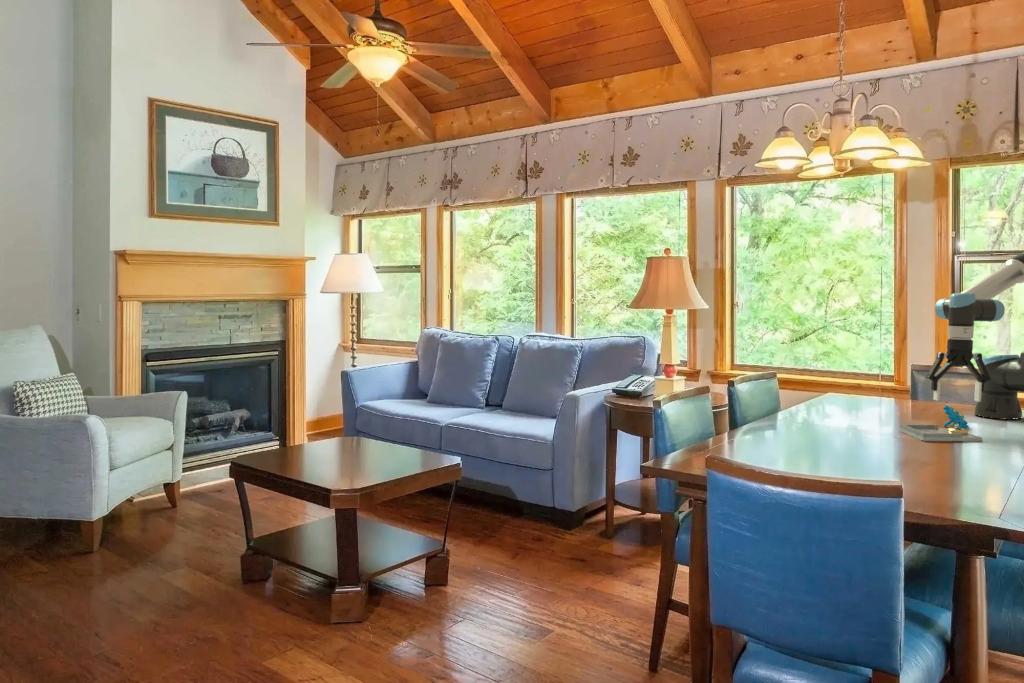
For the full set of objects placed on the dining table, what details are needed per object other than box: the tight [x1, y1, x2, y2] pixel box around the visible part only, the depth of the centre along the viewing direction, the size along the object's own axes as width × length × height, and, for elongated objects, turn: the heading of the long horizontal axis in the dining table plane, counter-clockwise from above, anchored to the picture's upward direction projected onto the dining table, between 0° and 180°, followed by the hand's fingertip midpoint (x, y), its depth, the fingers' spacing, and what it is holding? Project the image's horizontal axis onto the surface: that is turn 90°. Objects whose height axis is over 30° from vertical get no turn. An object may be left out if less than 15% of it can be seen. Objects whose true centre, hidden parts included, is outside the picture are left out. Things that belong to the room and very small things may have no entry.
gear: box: [942, 404, 970, 430], centre depth 261 cm, size 11×6×10 cm
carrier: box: [899, 423, 983, 443], centre depth 246 cm, size 18×16×3 cm
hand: (956, 400), depth 260 cm, fingers open, 13 cm apart
